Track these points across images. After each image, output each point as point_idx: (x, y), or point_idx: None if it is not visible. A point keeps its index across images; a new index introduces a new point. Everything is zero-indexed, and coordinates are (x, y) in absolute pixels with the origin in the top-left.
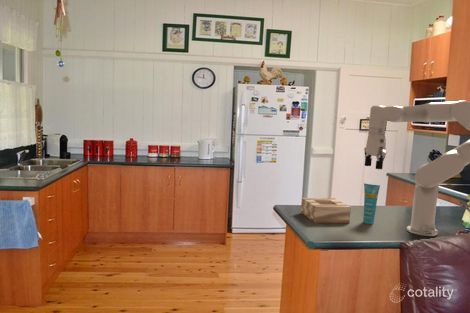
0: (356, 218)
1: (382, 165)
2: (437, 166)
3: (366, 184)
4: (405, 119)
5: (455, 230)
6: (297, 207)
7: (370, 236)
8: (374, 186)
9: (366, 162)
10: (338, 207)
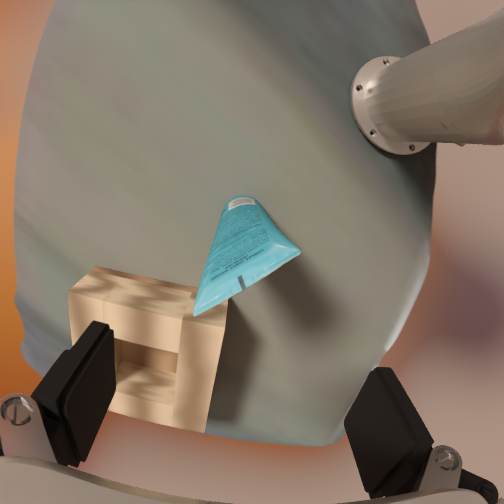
0: (176, 221)
1: (406, 396)
2: None
3: (208, 303)
4: None
5: None
6: (40, 337)
7: (367, 319)
8: (262, 269)
9: (103, 414)
10: (215, 371)
